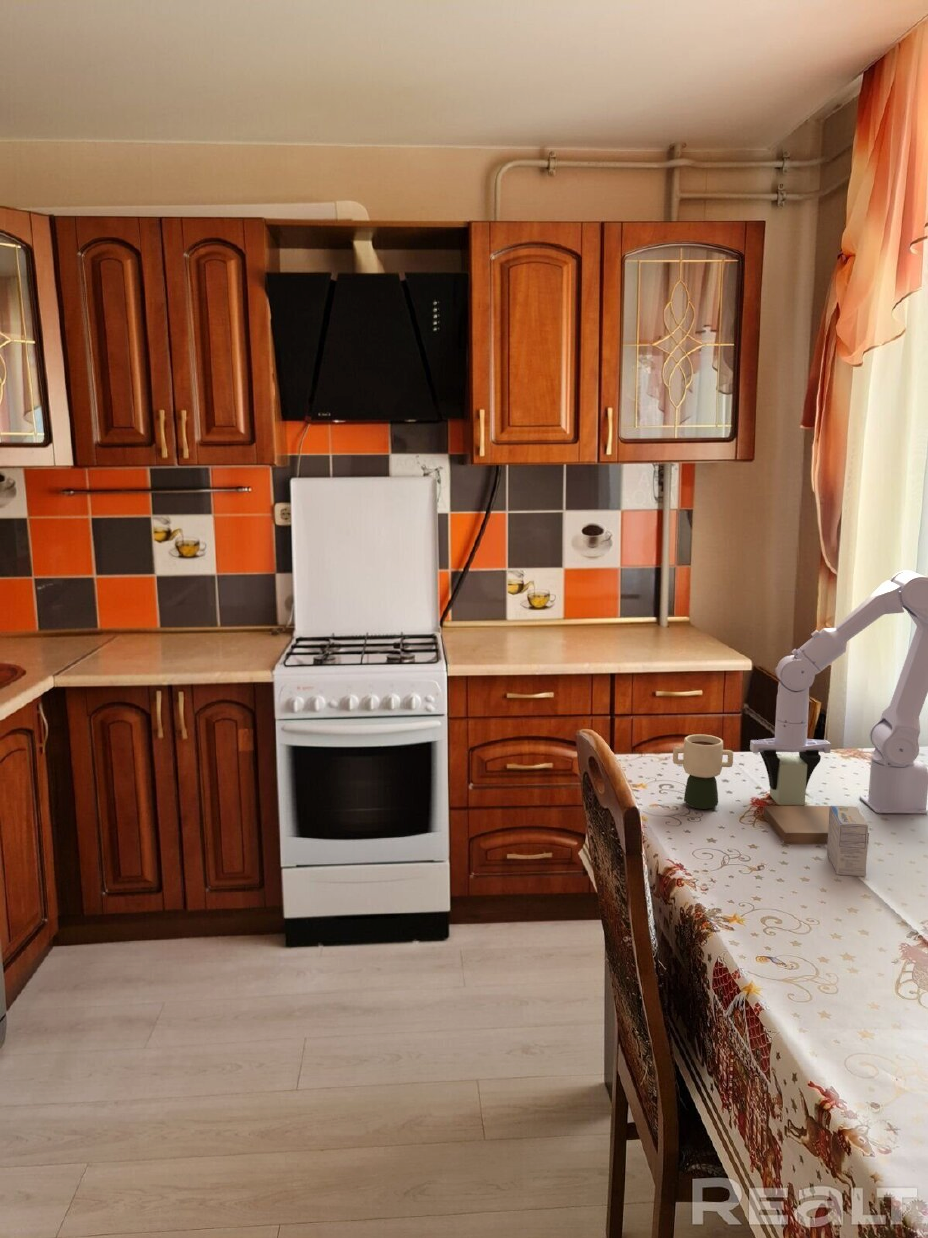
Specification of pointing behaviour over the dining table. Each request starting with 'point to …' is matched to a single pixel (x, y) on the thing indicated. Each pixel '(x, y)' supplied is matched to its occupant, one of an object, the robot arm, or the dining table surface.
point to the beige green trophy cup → (702, 768)
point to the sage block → (790, 781)
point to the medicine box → (847, 840)
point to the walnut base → (799, 823)
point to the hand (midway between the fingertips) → (787, 788)
